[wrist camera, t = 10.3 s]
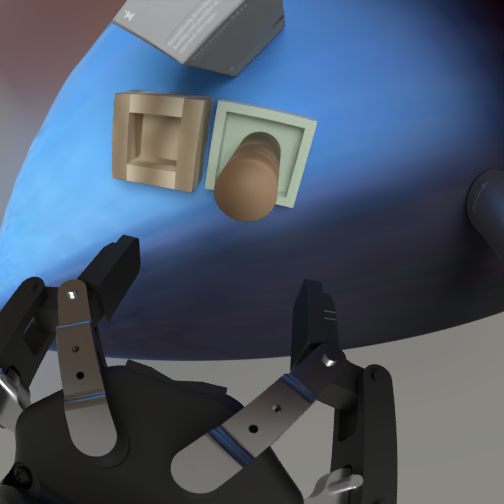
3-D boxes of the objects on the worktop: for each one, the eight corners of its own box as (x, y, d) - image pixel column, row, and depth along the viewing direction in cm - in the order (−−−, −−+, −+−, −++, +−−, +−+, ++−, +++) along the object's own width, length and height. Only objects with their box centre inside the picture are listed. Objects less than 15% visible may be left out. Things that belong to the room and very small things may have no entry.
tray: (315, 118, 27) (317, 121, 26) (292, 199, 33) (292, 208, 31) (223, 98, 27) (218, 100, 25) (209, 181, 33) (204, 188, 31)
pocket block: (214, 97, 27) (204, 100, 24) (201, 179, 33) (191, 192, 30) (132, 90, 27) (114, 93, 24) (128, 166, 33) (112, 178, 30)
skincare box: (236, 78, 26) (187, 80, 13) (186, 42, 24) (101, 26, 11) (290, 23, 22) (292, -27, 9) (237, -13, 19) (191, -76, 7)
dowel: (285, 136, 28) (284, 171, 19) (275, 174, 31) (269, 227, 21) (243, 127, 28) (218, 157, 19) (236, 165, 31) (209, 214, 21)
